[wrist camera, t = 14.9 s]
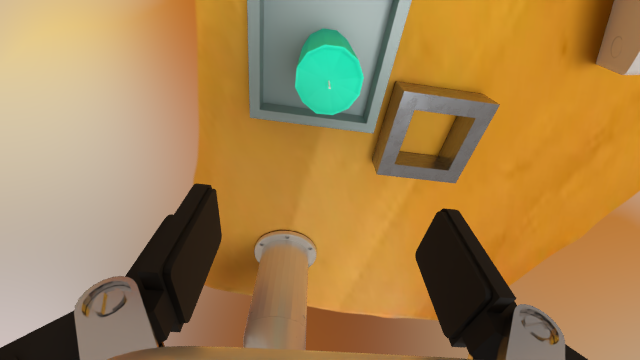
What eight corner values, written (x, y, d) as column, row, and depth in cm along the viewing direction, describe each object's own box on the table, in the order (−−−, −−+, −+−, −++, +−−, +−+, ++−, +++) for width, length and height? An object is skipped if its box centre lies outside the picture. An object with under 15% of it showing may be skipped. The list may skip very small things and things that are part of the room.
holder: (444, 168, 41) (455, 183, 38) (372, 159, 40) (376, 174, 37) (482, 94, 34) (499, 104, 31) (395, 81, 33) (404, 91, 30)
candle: (331, 15, 28) (338, 28, 19) (361, 62, 31) (380, 94, 21) (290, 52, 30) (277, 81, 21) (321, 92, 33) (322, 134, 24)
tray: (369, 122, 37) (373, 133, 34) (255, 107, 35) (249, 117, 33) (407, -19, 27) (417, -19, 24) (253, -46, 26) (246, -50, 23)
